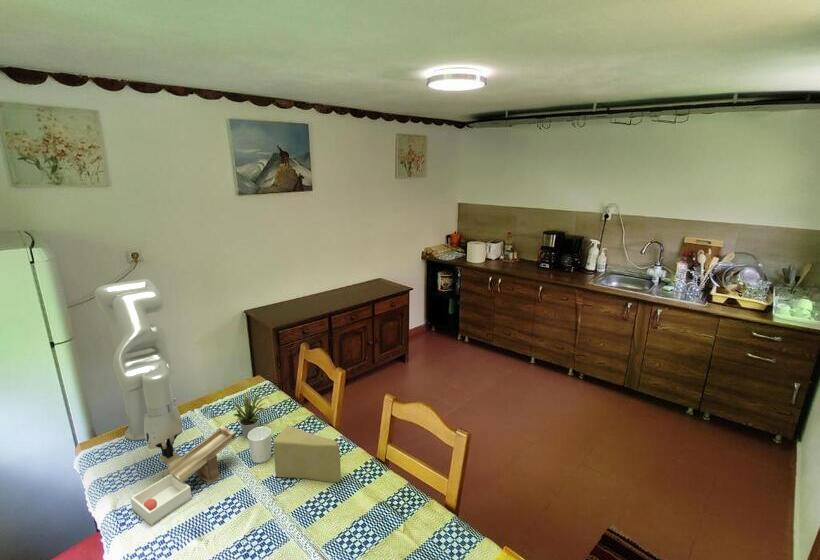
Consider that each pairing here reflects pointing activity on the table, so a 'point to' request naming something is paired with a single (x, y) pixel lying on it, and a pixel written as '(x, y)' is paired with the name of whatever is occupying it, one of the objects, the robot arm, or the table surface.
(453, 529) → the table surface
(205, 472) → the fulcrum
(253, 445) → the white cup
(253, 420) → the house plant
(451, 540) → the table surface
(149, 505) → the ball
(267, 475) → the table surface
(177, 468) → the lever
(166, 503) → the dish
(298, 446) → the cheese
